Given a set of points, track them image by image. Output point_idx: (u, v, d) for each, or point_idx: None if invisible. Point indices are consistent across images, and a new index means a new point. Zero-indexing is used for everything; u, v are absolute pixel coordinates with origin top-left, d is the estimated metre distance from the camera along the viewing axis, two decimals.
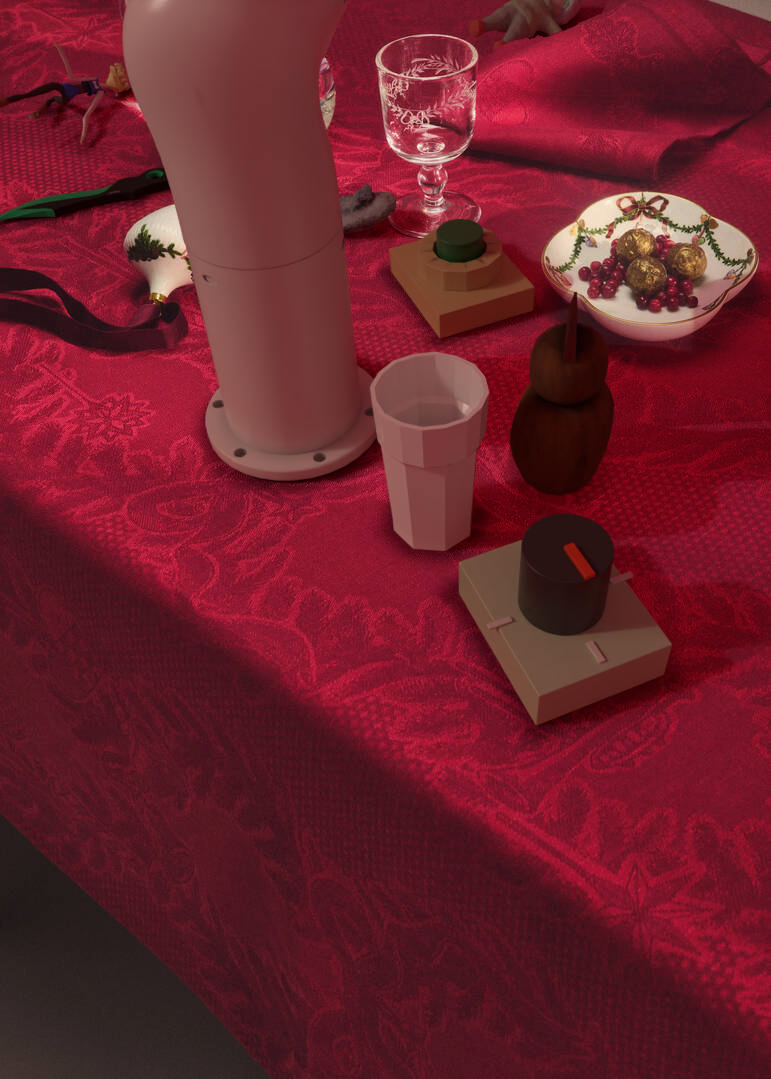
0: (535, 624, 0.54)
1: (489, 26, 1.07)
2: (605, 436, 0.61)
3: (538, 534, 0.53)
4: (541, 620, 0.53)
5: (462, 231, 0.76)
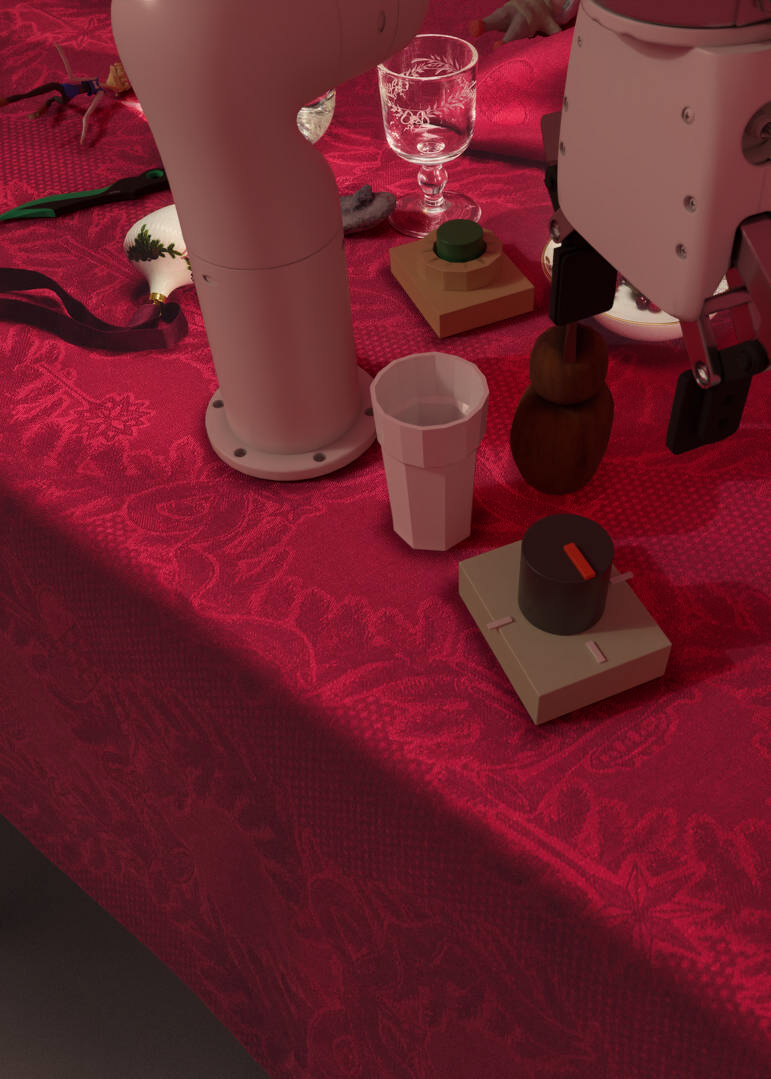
0: (535, 624, 0.54)
1: (489, 26, 1.07)
2: (605, 436, 0.61)
3: (538, 534, 0.53)
4: (541, 620, 0.53)
5: (462, 231, 0.76)
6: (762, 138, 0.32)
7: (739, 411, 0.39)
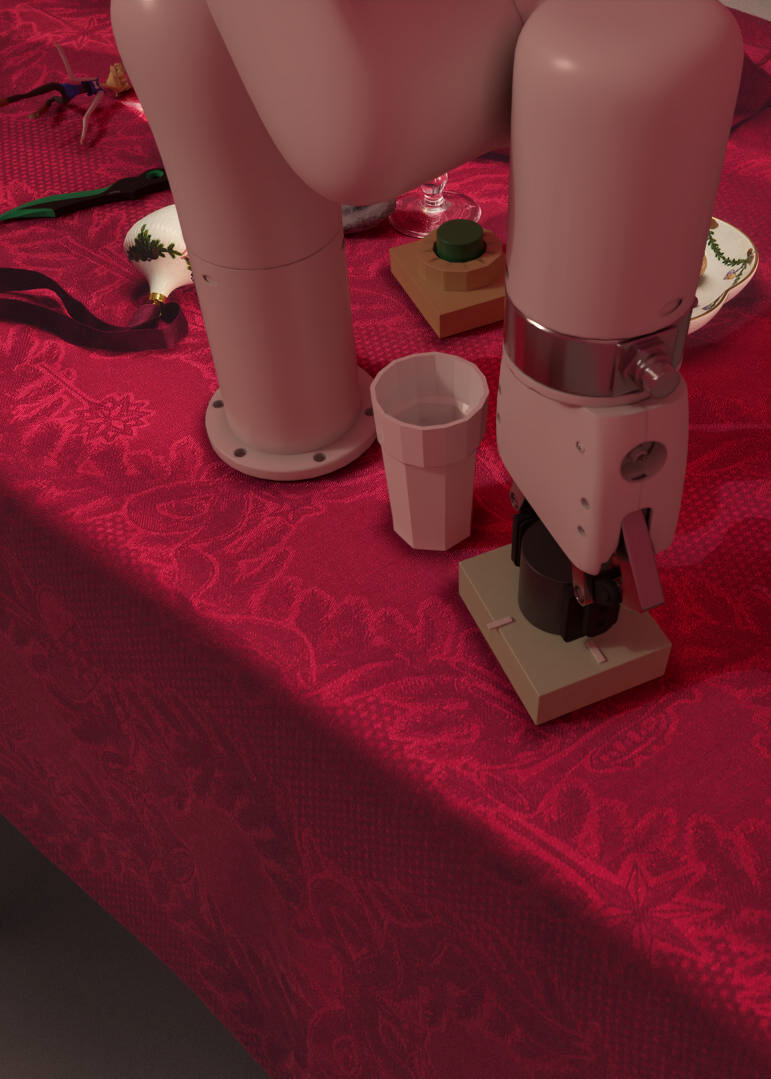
0: (535, 624, 0.54)
1: None
2: None
3: (538, 534, 0.53)
4: (541, 620, 0.53)
5: (462, 231, 0.76)
6: (638, 463, 0.41)
7: (613, 615, 0.51)
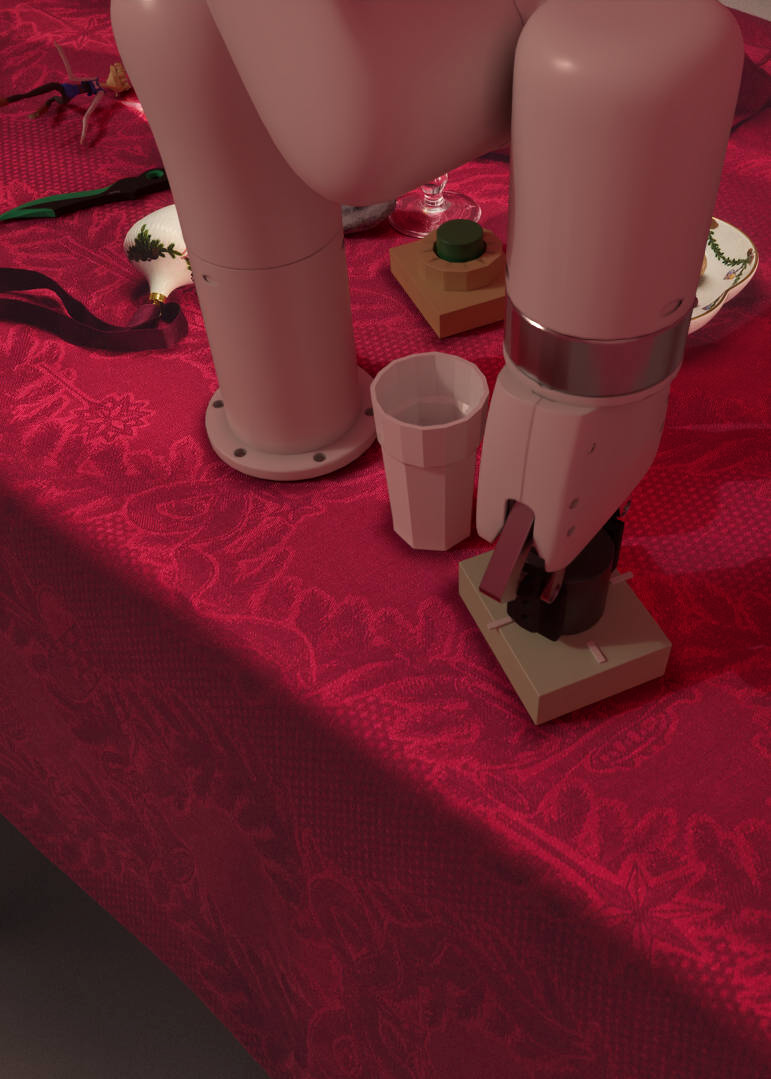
0: (605, 603, 0.55)
1: None
2: None
3: (568, 572, 0.51)
4: None
5: (462, 231, 0.76)
6: None
7: None
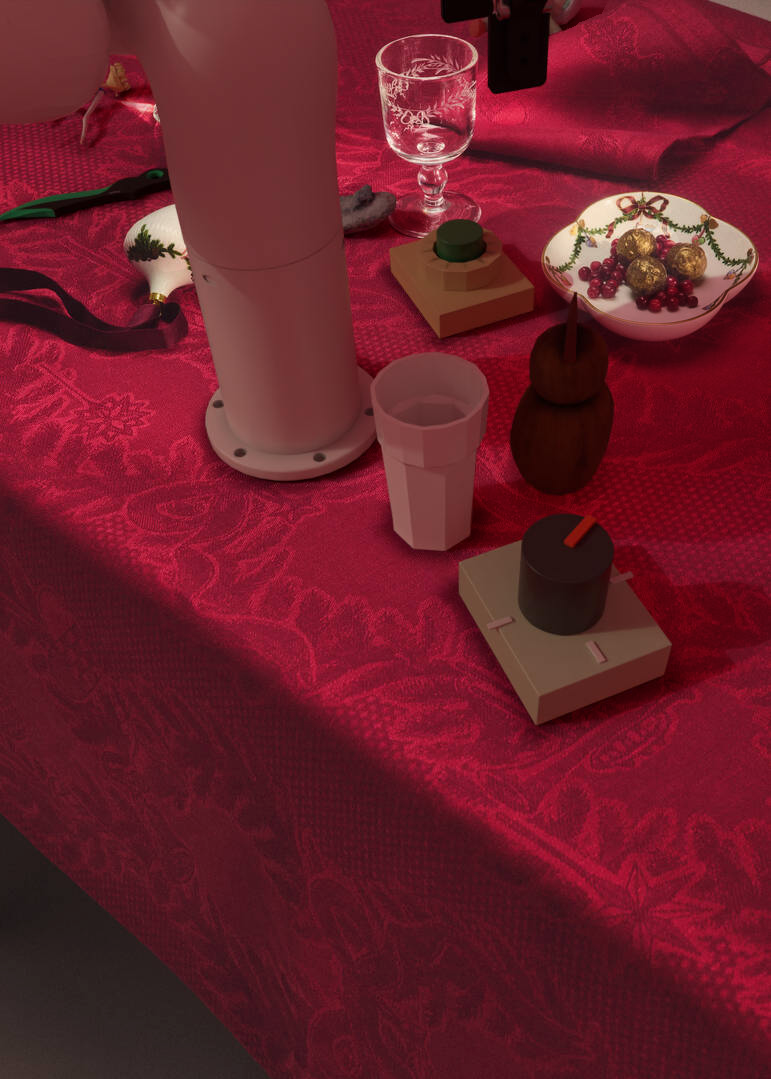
0: None
1: None
2: (605, 436, 0.61)
3: (568, 572, 0.51)
4: None
5: (462, 231, 0.76)
6: None
7: None
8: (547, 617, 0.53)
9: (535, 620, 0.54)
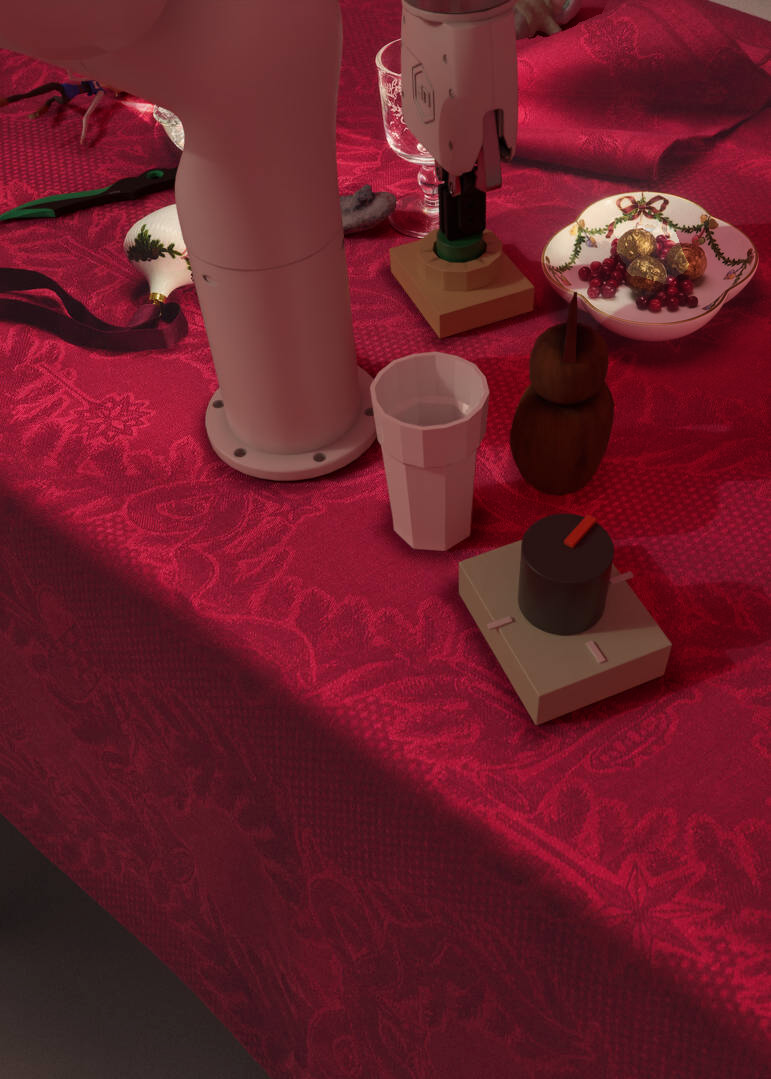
0: None
1: None
2: (605, 436, 0.61)
3: (568, 572, 0.51)
4: None
5: None
6: None
7: None
8: (547, 617, 0.53)
9: (535, 620, 0.54)
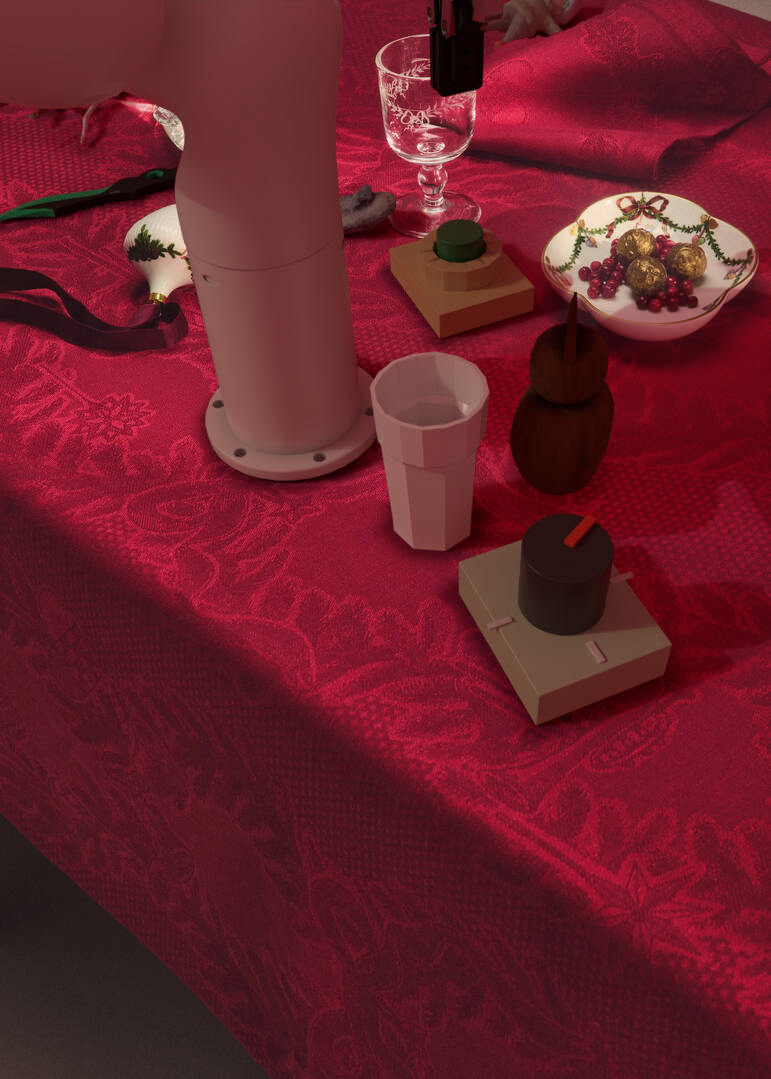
0: None
1: (489, 26, 1.07)
2: (605, 436, 0.61)
3: (568, 572, 0.51)
4: None
5: (462, 231, 0.76)
6: None
7: None
8: (547, 617, 0.53)
9: (535, 620, 0.54)
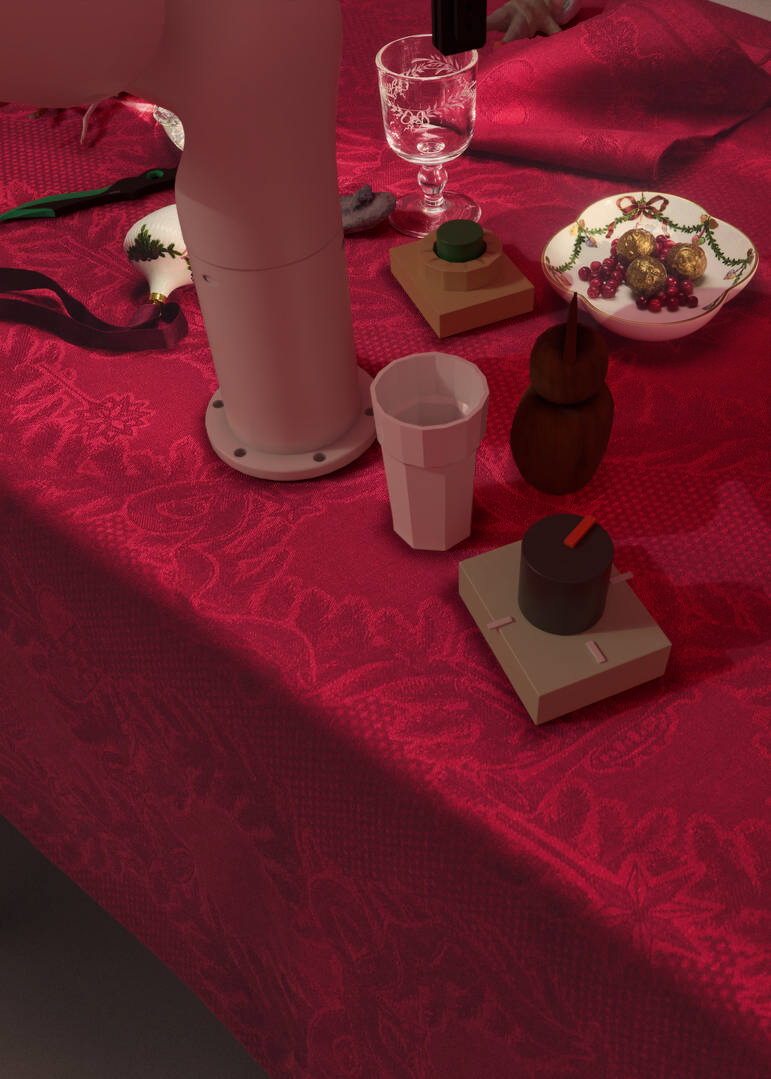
0: None
1: (489, 26, 1.07)
2: (605, 436, 0.61)
3: (568, 572, 0.51)
4: None
5: (462, 231, 0.76)
6: None
7: None
8: (547, 617, 0.53)
9: (535, 620, 0.54)
